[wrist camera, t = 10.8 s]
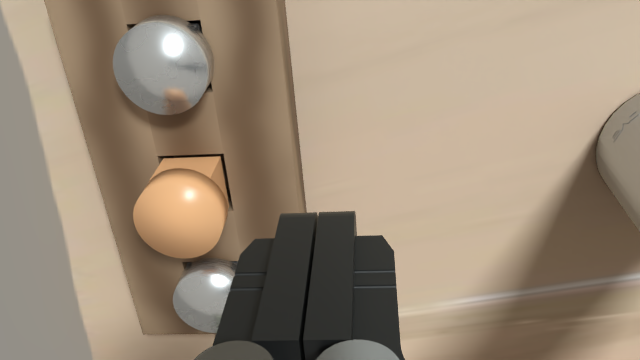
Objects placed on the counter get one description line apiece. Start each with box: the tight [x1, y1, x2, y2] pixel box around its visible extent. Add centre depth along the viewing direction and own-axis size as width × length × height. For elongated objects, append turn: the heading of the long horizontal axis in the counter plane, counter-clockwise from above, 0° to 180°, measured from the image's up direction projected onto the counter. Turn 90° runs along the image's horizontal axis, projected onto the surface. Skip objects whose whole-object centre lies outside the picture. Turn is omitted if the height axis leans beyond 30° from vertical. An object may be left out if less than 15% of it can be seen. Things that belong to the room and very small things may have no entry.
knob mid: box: [133, 156, 229, 259], centre depth 39 cm, size 6×6×5 cm
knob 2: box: [173, 258, 238, 333], centre depth 46 cm, size 6×6×5 cm
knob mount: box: [44, 0, 307, 334], centre depth 43 cm, size 14×28×4 cm, turn 4°
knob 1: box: [113, 15, 214, 115], centre depth 37 cm, size 6×6×5 cm
